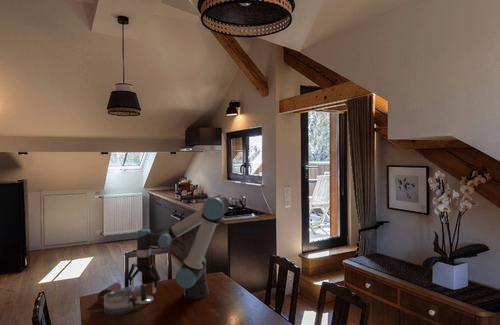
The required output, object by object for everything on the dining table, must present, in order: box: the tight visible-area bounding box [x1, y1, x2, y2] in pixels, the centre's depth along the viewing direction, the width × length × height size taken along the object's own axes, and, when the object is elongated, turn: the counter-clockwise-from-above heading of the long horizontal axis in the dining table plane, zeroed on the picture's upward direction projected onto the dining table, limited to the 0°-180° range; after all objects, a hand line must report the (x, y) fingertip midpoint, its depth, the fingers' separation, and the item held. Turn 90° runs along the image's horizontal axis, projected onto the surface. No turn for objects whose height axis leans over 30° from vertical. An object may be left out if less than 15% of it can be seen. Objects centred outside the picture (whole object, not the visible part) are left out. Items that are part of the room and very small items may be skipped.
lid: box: [133, 284, 154, 305], centre depth 202 cm, size 11×11×9 cm
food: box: [97, 282, 122, 307], centre depth 206 cm, size 21×9×9 cm, turn 9°
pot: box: [99, 289, 137, 317], centre depth 190 cm, size 21×15×8 cm
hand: (143, 291), depth 203 cm, fingers open, 13 cm apart
